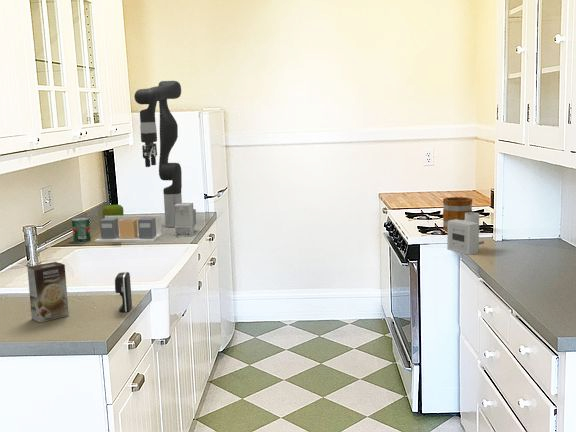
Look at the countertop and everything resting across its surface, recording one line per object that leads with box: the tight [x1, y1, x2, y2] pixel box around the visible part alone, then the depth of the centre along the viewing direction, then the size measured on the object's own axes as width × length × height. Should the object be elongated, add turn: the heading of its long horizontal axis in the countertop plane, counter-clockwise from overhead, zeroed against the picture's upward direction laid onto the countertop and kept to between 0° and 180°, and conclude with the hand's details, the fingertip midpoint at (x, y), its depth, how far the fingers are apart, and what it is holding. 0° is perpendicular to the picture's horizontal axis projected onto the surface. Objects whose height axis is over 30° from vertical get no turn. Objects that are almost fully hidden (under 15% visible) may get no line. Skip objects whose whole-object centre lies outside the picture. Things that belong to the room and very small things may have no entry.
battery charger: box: [114, 271, 133, 313], centre depth 198 cm, size 7×4×11 cm, turn 5°
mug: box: [442, 196, 473, 233], centre depth 305 cm, size 20×14×15 cm
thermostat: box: [446, 212, 485, 256], centre depth 262 cm, size 12×14×15 cm
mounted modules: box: [99, 218, 156, 238], centre depth 304 cm, size 6×25×8 cm, turn 84°
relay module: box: [119, 219, 138, 238], centre depth 304 cm, size 5×7×8 cm
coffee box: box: [26, 261, 70, 323], centre depth 192 cm, size 9×6×16 cm
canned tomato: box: [71, 217, 92, 244], centre depth 303 cm, size 8×8×11 cm
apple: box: [102, 203, 125, 219], centre depth 351 cm, size 11×11×11 cm
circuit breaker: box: [174, 202, 197, 237], centre depth 315 cm, size 8×14×15 cm, turn 174°
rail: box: [97, 235, 156, 239], centre depth 304 cm, size 4×27×1 cm, turn 84°
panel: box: [94, 214, 163, 243], centre depth 306 cm, size 15×28×10 cm, turn 84°
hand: (150, 166), depth 306 cm, fingers open, 8 cm apart
